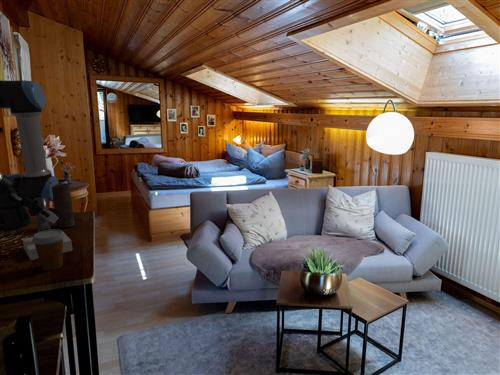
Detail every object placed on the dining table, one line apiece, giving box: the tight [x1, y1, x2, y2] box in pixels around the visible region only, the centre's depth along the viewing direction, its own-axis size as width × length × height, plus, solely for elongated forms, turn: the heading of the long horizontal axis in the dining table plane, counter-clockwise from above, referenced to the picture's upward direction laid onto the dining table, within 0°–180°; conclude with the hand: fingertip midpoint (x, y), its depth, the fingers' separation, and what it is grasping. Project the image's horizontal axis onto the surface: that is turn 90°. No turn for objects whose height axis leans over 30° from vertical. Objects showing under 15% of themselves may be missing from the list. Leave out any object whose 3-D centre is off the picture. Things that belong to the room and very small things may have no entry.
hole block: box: [22, 230, 73, 261], centre depth 138 cm, size 14×14×4 cm
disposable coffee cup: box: [32, 229, 64, 271], centre depth 122 cm, size 10×10×12 cm
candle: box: [52, 183, 76, 228], centre depth 162 cm, size 8×7×20 cm
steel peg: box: [34, 197, 52, 232], centre depth 135 cm, size 4×4×13 cm
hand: (54, 219), depth 138 cm, fingers closed on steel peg, 4 cm apart
